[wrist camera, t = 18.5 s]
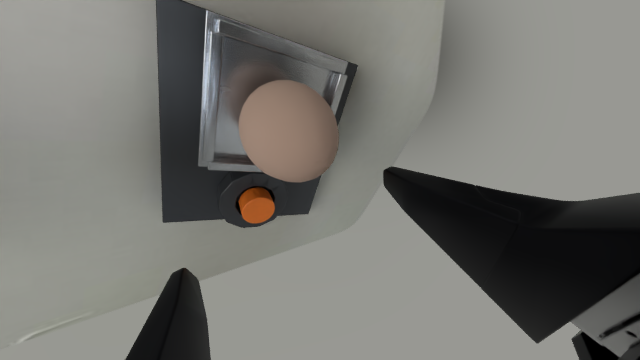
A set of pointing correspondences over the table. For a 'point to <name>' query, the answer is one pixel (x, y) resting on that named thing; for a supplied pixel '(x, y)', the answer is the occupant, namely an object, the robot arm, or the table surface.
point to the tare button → (256, 205)
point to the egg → (289, 131)
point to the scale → (184, 127)
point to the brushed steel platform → (251, 83)
